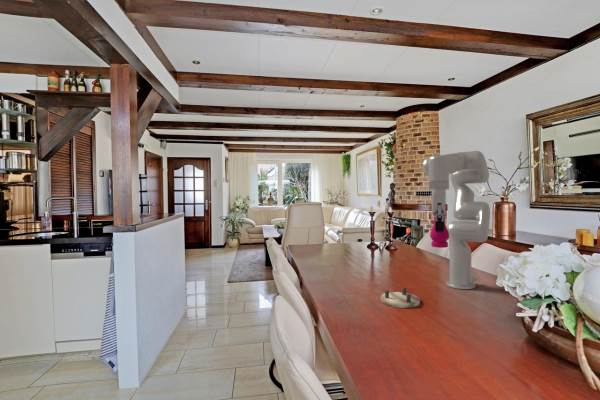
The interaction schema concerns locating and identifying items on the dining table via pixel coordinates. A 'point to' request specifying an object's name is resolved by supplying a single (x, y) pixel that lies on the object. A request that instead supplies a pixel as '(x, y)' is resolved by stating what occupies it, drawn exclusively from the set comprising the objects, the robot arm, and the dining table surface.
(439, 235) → the pepper mill
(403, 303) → the dowel board
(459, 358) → the dining table surface
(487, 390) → the dining table surface
